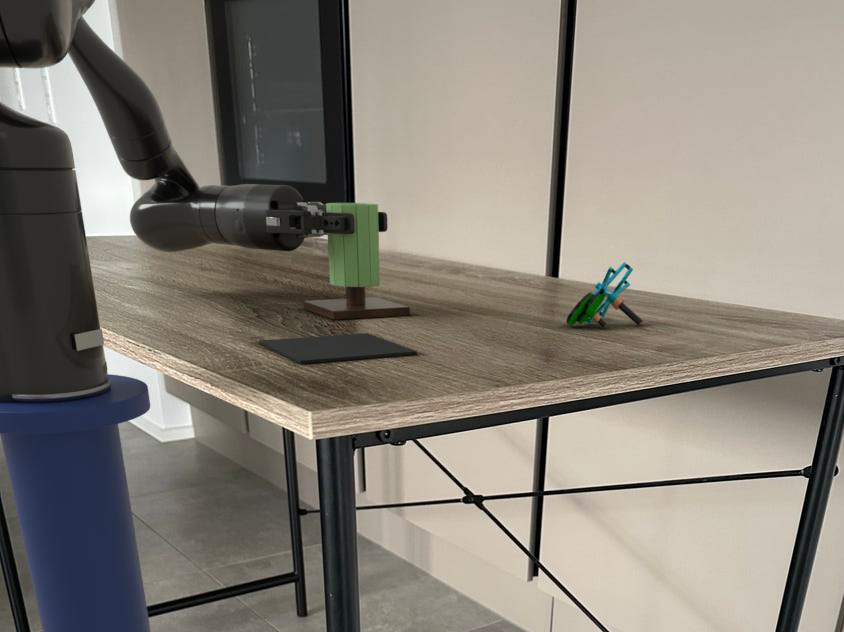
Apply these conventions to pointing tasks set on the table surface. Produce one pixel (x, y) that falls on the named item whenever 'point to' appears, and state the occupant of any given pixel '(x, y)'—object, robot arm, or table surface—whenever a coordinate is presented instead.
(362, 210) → the green pencil cup
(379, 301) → the stand
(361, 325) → the table surface
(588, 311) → the stick construction toy
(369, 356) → the mat
